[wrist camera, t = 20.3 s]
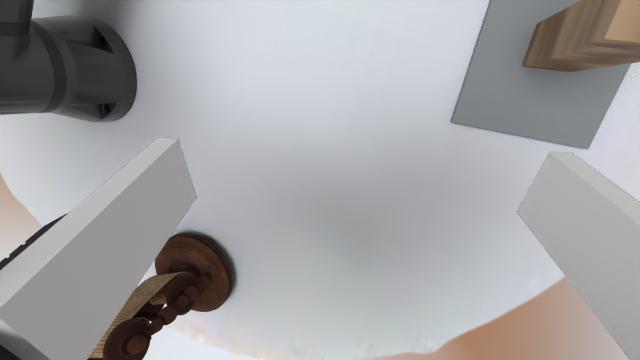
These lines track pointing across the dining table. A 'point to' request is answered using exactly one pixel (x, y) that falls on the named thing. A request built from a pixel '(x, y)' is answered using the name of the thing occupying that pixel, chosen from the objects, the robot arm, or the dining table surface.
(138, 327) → the scroll
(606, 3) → the wooden mallet
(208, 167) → the dining table surface
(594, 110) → the rubber mat
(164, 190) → the robot arm
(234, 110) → the dining table surface
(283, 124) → the dining table surface
